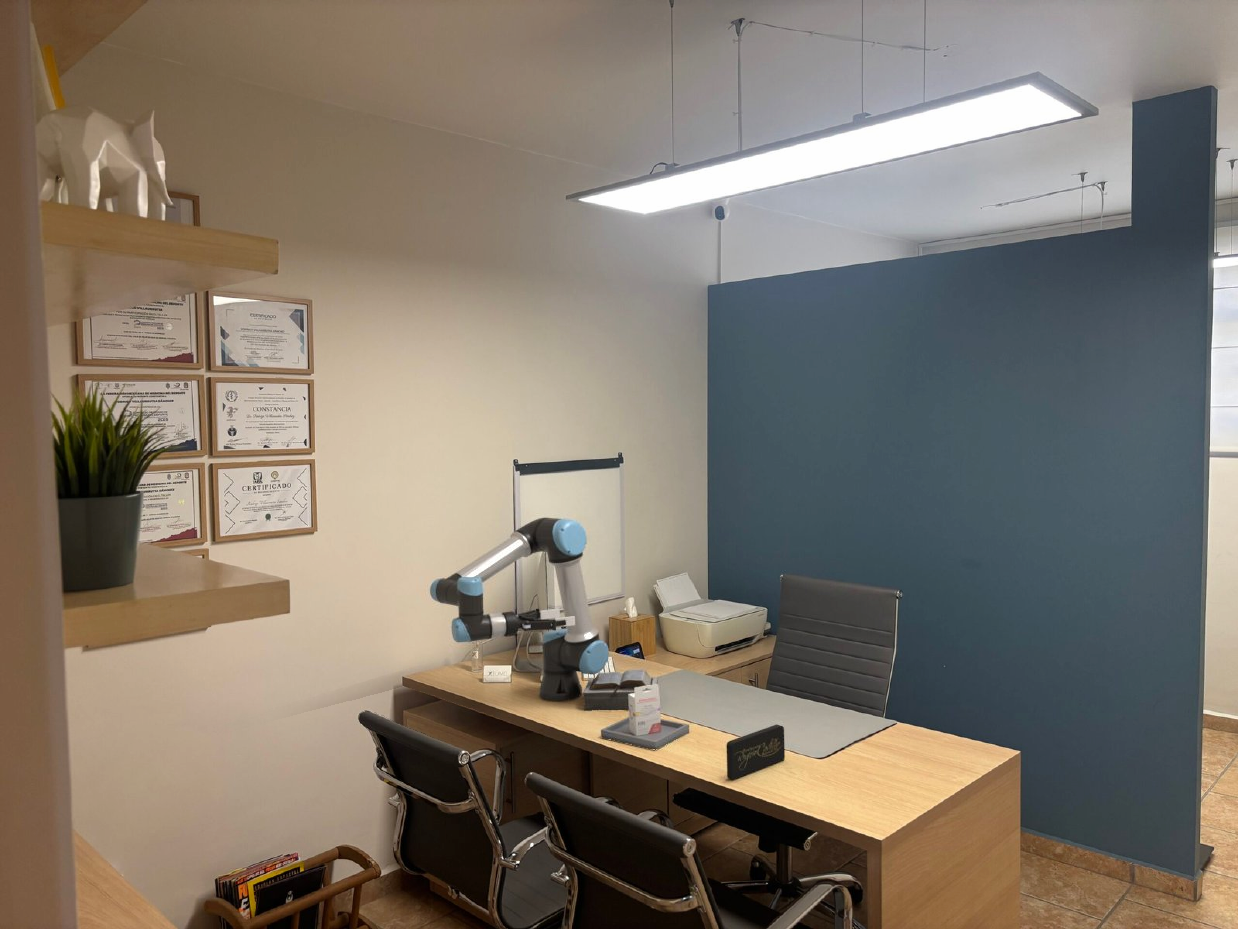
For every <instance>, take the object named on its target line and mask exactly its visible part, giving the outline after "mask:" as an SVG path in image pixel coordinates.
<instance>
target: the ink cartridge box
mask: <svg viewBox="0 0 1238 929" xmlns="http://www.w3.org/2000/svg"><path fill="white" fill-rule="evenodd" d="M646 688H647V689H651V690H650V691H645V692H642V691H643V690H645V689H646ZM659 691H660V690H659V684H654V685H647V686H641V687H635V688H634V692H635V693H632V694H628V700H629V710H628V717H629V724H630V732H631V733H633V734H634V735H635V736H640V735H645V734H651V733H656V732H660V731H661V720H660V719H661V702H660V701H661V698H660V697H661V696H660V692H659Z"/></svg>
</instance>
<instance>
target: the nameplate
mask: <svg viewBox="0 0 1238 929" xmlns="http://www.w3.org/2000/svg"><path fill="white" fill-rule="evenodd" d="M785 750H786V749H785V726H783V725H779V724H773V725H771V726H768V727H765V728H763V729H760V730H756V731H754V732H751V733H748V734H746V735H745V734H744V735H742V736H740V737H736V738H734V739H732V740H729V741H727V743H726V773H727V774H726V776H727V777H726V778H728V779H729V780H732V781H737V780H739V779H742V778H744V777H747V776H749V775H751V774H754V773H757V772H759V771H763V770H764V769H767V768H770V767H772V766H774V765H777V764H780V763H782V762H784V761H785V757H786V756H785V755H786V751H785Z"/></svg>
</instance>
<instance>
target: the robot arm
mask: <svg viewBox="0 0 1238 929" xmlns="http://www.w3.org/2000/svg"><path fill="white" fill-rule="evenodd" d="M586 532H587V531H586V530H585V528H584V526H583V525H582V524H581V523H580V522H578V521H577V520H574V519H571V518H570V519H569V518H557V517H556V518H553V517H539V518H537V519H534V520H532V521H530V522H528V523H526V524H525V525H523V526H522V527H519V528H518V529H516V530H515V531H513V532H512V533H511V534H510V536H509V538H507V539H506V540H504V541H503V542H502V543H499V545H497V546H495V547H494V548H492V549H491V550H489V551H487V552H486V553H484V554H482V555H481V556H479V557H478V558H476V559H475V560H473V561H471V563H469V564H467V565H465V566H463V567H462V568H461V569H459V570H457V571H456V572H455V573H453V574H451V575H450V576H448V577H446V578H445V577H444V578H437V579H435V580H434V581H433V582H431V585H430V587H429V593H430V597H431V598H432V599H433V601H435V602H437V603H440V604H444V605H451V606H456V607H458V609H457V610H458V617H455V618H453V619H452V621H451V634H452V638H453V640H454V641H455V642H456V643H471V642H477V641H482V640H483V641H484V640H490V639H492V640H493V641H495V640H496V639H497V638H498V639H499V638H503V637H504V638H507V637H508V638H509V637H515V636H516V635H518V634H517V633H518V630H519V629H521V630H523V631H524V632H528V631H545V632H544V633H543V635H542V643H541V644H542V662H543V676H542V679H541V684H540V687H539V692H538V693H539V694H538V695H539V699H542V700H544V701H549V702H550V701H551V702H565V701H571V700H572V701H573V700H575V699H578V698H579V697H581V696H583V687H582V684H581V682H580V677H579V676H578V672H579V673H582V674H584V675H596V674H597V675H598V674H599V673H601V671H602V670H604V668H605V667H606V664H607V662H608V660H609V656H610V648H609V647H608V645H607V643H606V642H605V641H603V640H601V639H600V634H599V630H598V629H597V628H596V627H594V626H593V622H592V617H591V616H592V615H591V611H590V606H589V601H588V597H587V596H588V595H587V591H586V585H585V582H584V581H585V580H584V575H583V571H582V566H581V560H582V558H583V557H584V553H583V552H584V551H585V549H586V545H587V542H588V537H587V536H588V535H587V533H586ZM541 552H543V553H546V555H547V559H548V564H551V565H552V566H554V570H555V575H556V576H555V577H556V579H557V584H558V590H559V594H560V600H561V604H562V609H563V616H564V617H561V613H560V612H561V609H560V608H554V609H553V608H552V609H544V610H540V608H535V609H532V610H528V611H525V612H521V613H518V614H516V613H515V612H514V611H505V612H502V613H501V612H493V613H487V614H484V587H483V583H485V581H488V580H489V579H491V578H492V577H494V576H495V575H496V574H498V573H500V572H502V571H503V570H504V569H505V568H507V567H509V566H510V565H512V564H513V563H515V562H517V561H518V560H520V559H522V558H528V557H530V556H531V555H533V554H536V553H541ZM564 627H566V628H564ZM557 628H558V629H557Z"/></svg>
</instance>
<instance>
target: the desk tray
mask: <svg viewBox="0 0 1238 929" xmlns="http://www.w3.org/2000/svg"><path fill="white" fill-rule="evenodd" d="M660 720H661V731H660V732H656V733H651V734H645V735H640V736H635V735H634V734H633V733H631V732H630V724H629V716H627V717H625V718H623V719H621V720H619V721H616V722H615V723H613V724H611V725H609V726H606V727H604V728H602V729H600V737H602V738H601V739H603V738H605V739H604V740H607V739H611V740H610V741H612V740H615V741H614V742H616V741H619V742H618V743H620V742H622V743H621V744H625V743H628V744H627V745H629V744H632V745H631V746H633V745H635V746H634V747H637V746H640V747H639V748H642V747H644V748H643V749H646V748H648V749H647V750H650V749H655V750H656V749H658V750H660V749H662V748H663V747H662V746H664V747H666V746H667V745H669V744H671V743H673V742H674V740H675V741H676V739H677V740H679V739H680V738H682V737H684V736H686V735H688V734H689V733H690V724H688V723H682V722H678V721H673V720H669V719H664V718H660ZM668 743H669V744H668ZM666 744H667V745H666ZM665 745H666V746H665ZM661 747H662V748H661ZM659 748H660V749H659ZM655 750H654V751H655ZM656 751H657V750H656Z"/></svg>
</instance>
